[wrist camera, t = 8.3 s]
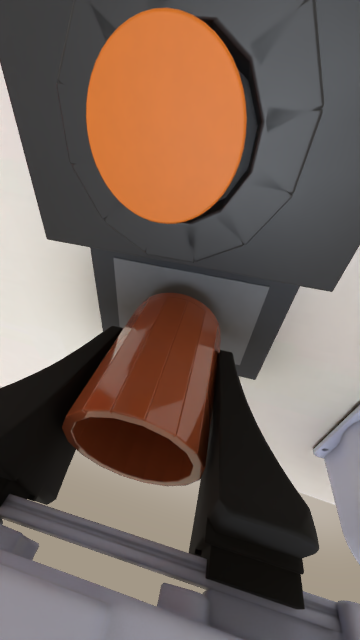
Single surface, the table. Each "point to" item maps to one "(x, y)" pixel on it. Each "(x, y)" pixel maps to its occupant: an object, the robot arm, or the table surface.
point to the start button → (166, 115)
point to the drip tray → (207, 287)
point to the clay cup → (152, 395)
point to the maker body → (260, 143)
